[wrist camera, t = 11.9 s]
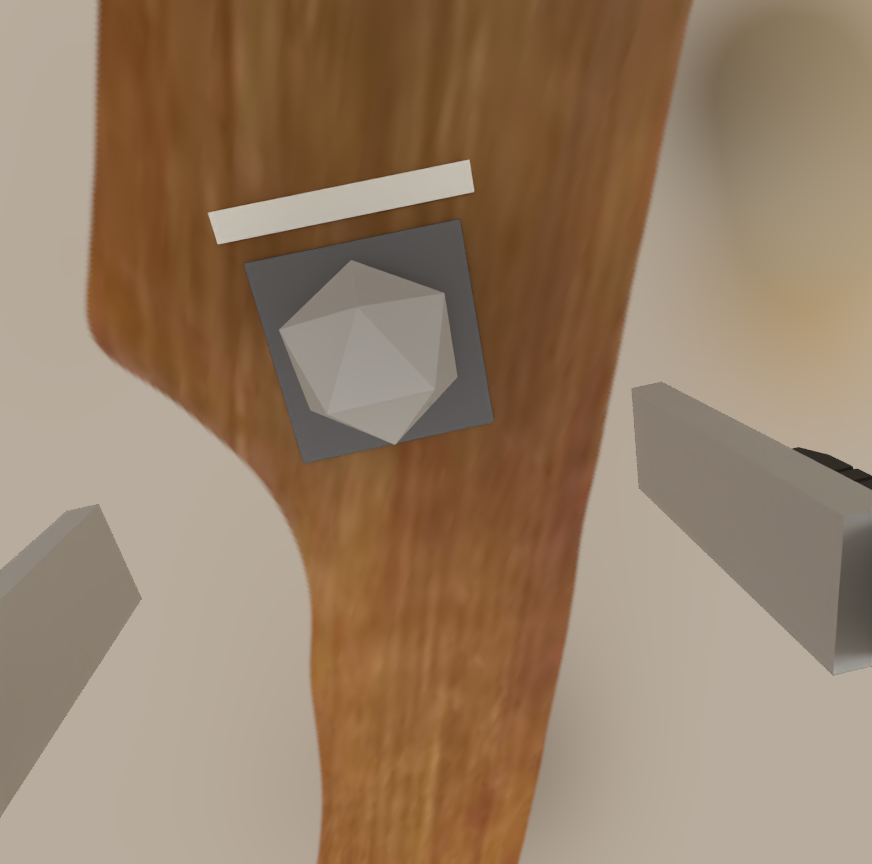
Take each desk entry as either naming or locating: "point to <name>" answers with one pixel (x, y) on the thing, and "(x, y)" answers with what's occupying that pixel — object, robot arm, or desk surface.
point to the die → (372, 350)
